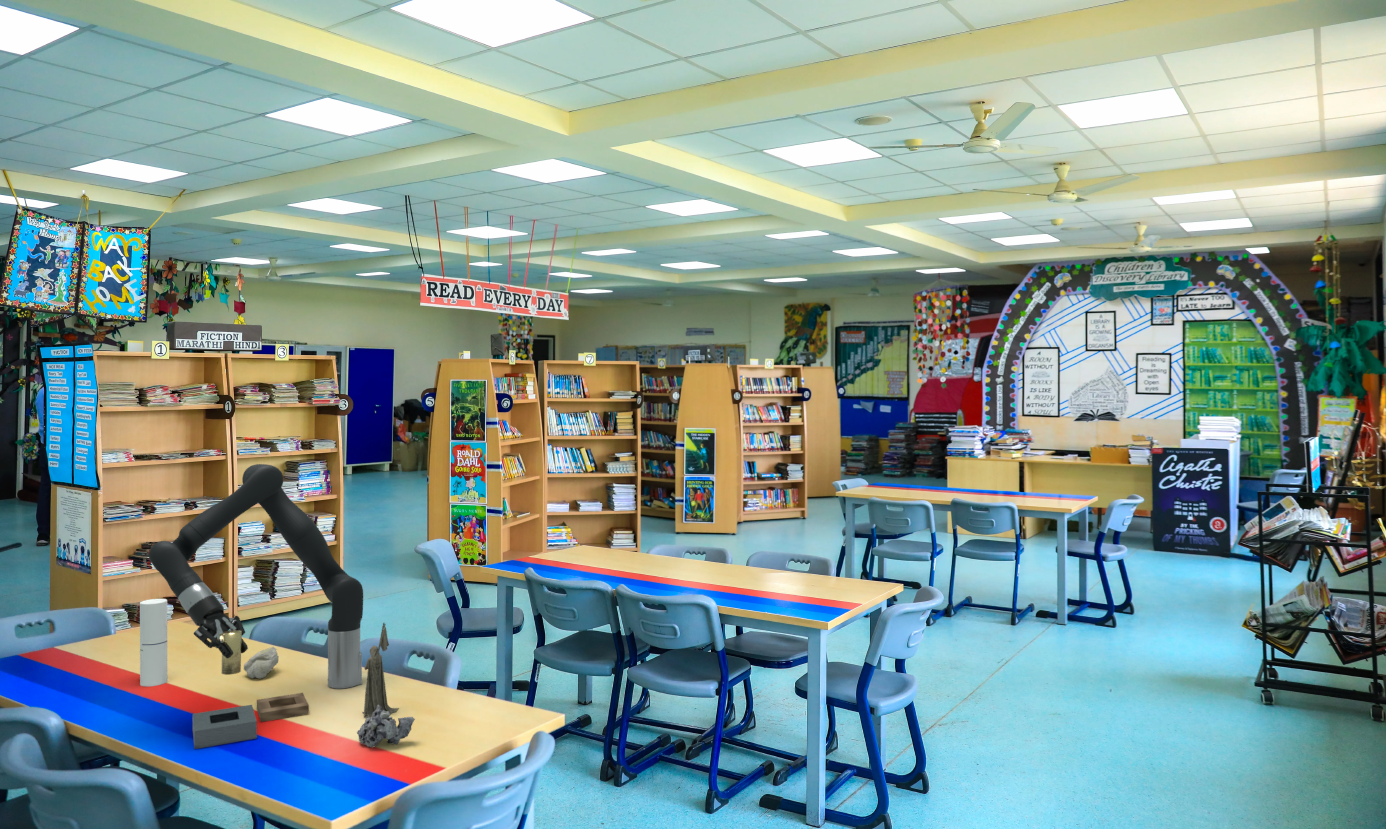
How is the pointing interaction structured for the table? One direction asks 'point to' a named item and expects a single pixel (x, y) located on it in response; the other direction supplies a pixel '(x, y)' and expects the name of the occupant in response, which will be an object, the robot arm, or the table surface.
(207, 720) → the charcoal block
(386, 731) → the mineral specimen
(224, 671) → the brass peg
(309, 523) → the robot arm
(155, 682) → the cylindrical container
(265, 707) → the walnut stand
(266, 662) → the fossil replica
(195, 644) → the table surface
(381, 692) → the wizard figurine
